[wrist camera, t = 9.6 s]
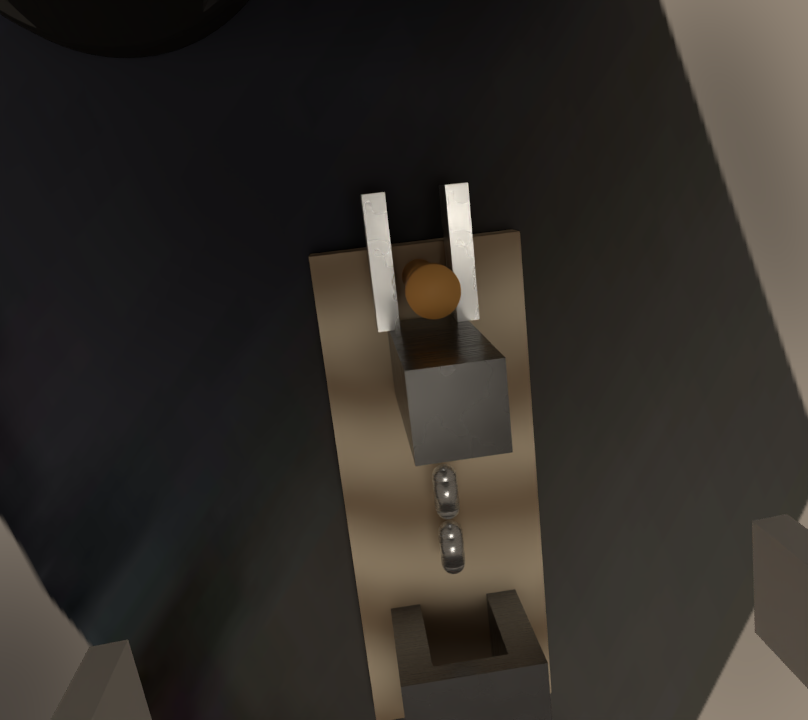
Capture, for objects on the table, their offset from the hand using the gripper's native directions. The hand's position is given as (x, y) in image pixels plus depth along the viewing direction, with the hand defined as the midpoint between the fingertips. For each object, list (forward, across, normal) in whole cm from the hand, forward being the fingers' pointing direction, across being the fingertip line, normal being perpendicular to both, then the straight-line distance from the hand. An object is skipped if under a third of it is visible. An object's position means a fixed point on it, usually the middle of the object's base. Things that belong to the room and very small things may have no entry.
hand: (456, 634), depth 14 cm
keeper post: (+20, +2, +5) cm, 21 cm away
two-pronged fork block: (+20, +2, -1) cm, 20 cm away
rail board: (+22, +2, -6) cm, 22 cm away
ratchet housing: (+20, +1, -16) cm, 26 cm away
